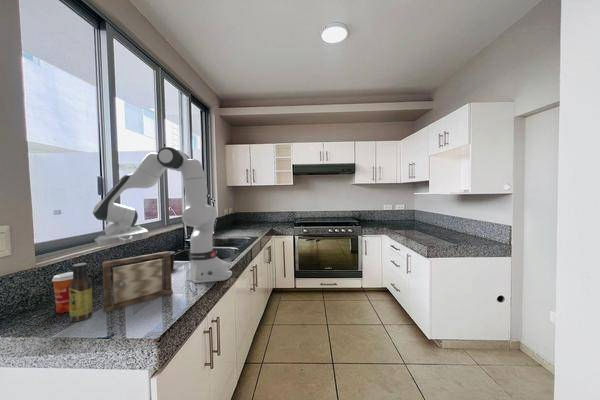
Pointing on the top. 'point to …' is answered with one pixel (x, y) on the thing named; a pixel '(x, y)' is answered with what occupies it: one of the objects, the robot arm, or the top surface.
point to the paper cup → (62, 291)
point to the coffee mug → (170, 259)
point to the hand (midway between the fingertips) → (128, 241)
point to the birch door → (138, 280)
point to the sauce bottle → (80, 294)
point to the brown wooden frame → (113, 306)
